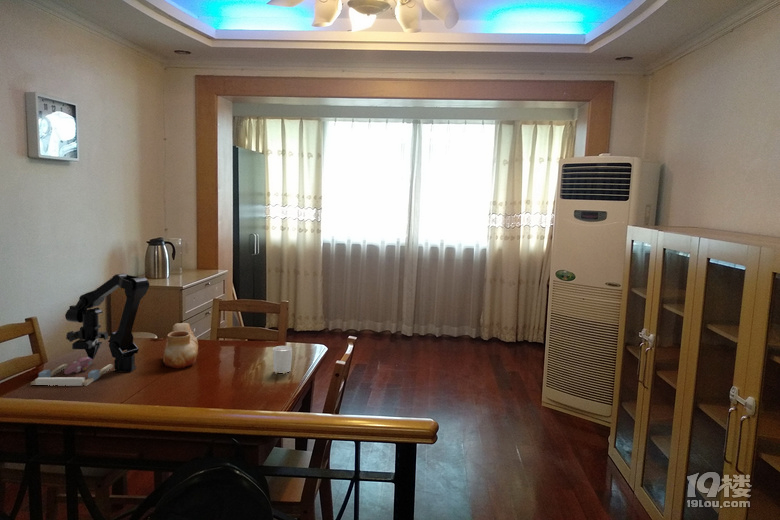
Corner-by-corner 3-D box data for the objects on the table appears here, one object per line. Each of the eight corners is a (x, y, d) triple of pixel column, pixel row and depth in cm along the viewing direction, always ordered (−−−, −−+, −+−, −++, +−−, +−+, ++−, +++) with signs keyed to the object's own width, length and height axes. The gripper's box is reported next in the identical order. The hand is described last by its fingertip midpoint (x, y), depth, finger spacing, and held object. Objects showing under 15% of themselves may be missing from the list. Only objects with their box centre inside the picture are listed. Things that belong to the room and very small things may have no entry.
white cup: (295, 370, 213) (295, 347, 212) (284, 375, 206) (284, 351, 205) (280, 367, 216) (280, 344, 215) (268, 372, 209) (268, 349, 208)
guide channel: (113, 367, 209) (113, 360, 209) (87, 385, 187) (87, 377, 187) (62, 367, 207) (62, 359, 207) (30, 385, 185) (29, 377, 185)
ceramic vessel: (199, 351, 237) (199, 319, 235) (197, 368, 212) (197, 333, 211) (167, 353, 232) (166, 320, 231) (161, 370, 208) (160, 334, 206)
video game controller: (71, 379, 198) (77, 364, 197) (62, 373, 198) (68, 358, 197) (90, 371, 207) (97, 357, 206) (82, 366, 208) (88, 351, 207)
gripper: (81, 318, 218) (82, 354, 219) (57, 328, 199) (58, 367, 201) (108, 319, 219) (109, 354, 220) (87, 328, 200) (88, 367, 202)
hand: (91, 360), depth 211 cm, fingers closed
